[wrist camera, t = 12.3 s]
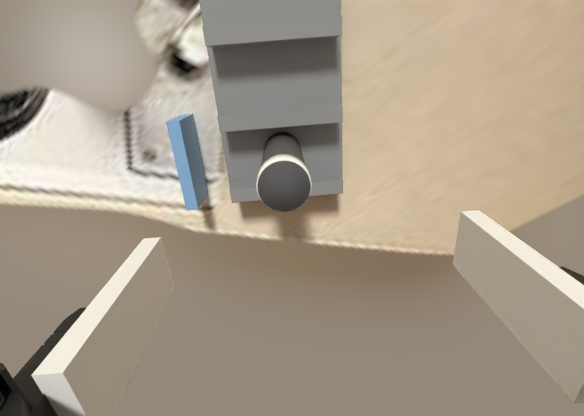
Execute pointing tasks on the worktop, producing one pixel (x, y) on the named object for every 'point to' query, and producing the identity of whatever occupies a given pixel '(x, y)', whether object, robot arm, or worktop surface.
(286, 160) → the grey banded cylinder
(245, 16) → the grey slotted rack
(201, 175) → the blue rectangular block
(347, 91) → the worktop surface
